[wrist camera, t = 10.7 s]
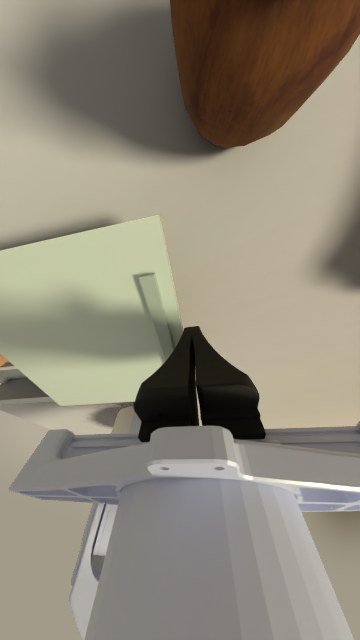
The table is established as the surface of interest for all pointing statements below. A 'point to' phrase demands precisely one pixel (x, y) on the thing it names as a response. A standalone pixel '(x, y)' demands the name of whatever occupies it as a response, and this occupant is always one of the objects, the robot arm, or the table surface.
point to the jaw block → (2, 360)
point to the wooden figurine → (256, 60)
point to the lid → (90, 311)
